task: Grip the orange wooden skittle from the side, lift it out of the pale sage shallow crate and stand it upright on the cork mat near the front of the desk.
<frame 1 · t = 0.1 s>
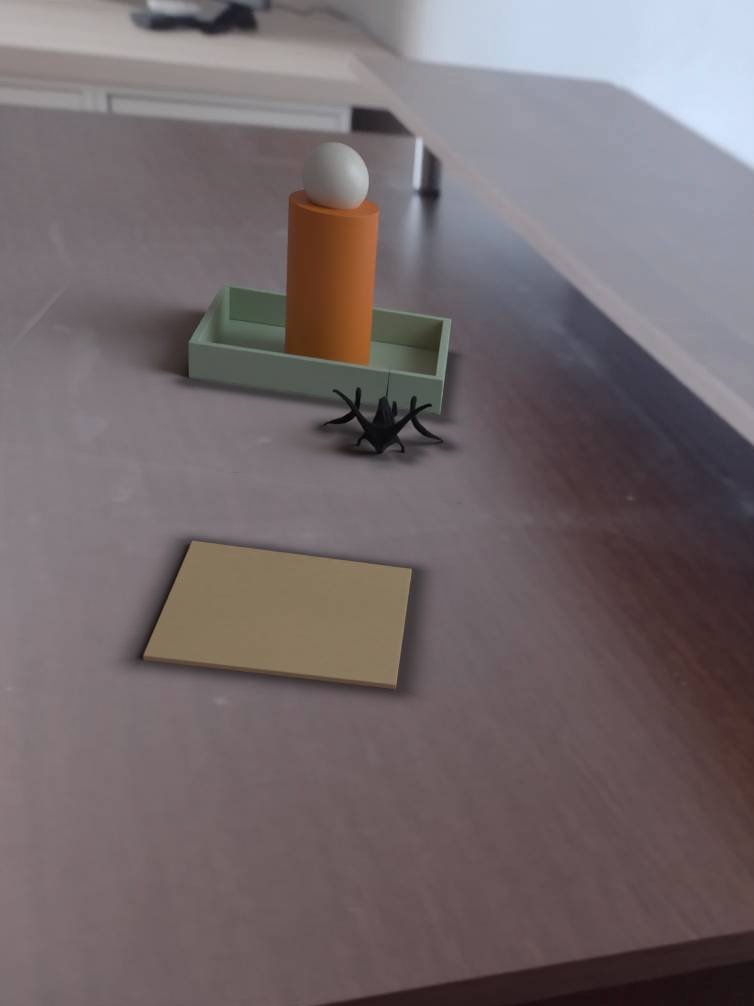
skittle: (326, 362, 96), point 1 cm above the worktop, touching crate
mat: (288, 615, 69), on the worktop
crate: (326, 370, 96), on the worktop
creature: (382, 449, 88), on the worktop
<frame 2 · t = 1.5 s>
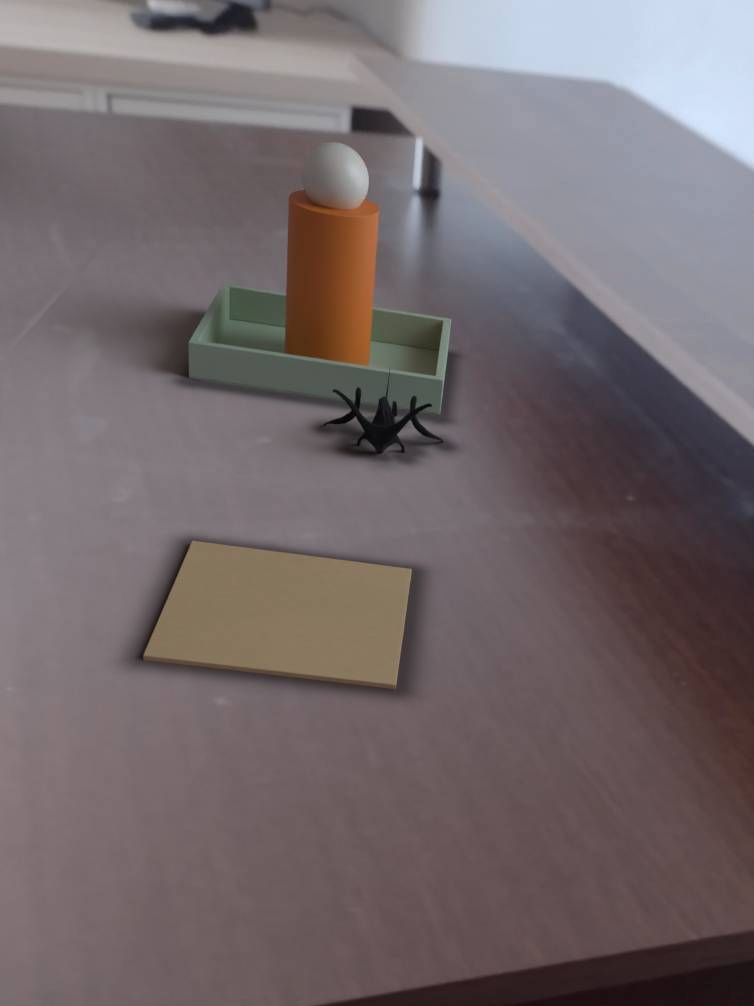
nothing on the worktop moved.
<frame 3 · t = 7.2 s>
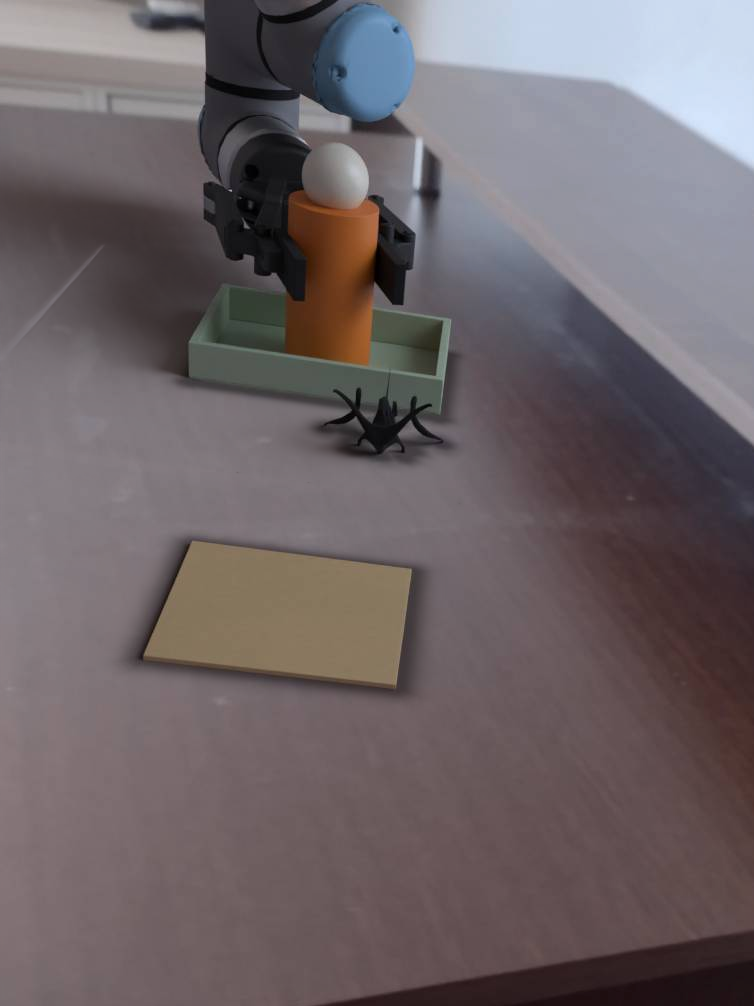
hand: (350, 282, 88), 8 cm above the worktop, tool horizontal, fingers closed on skittle, 6 cm apart
skittle: (326, 362, 96), point 1 cm above the worktop, touching crate, gripper
everything else where it was.
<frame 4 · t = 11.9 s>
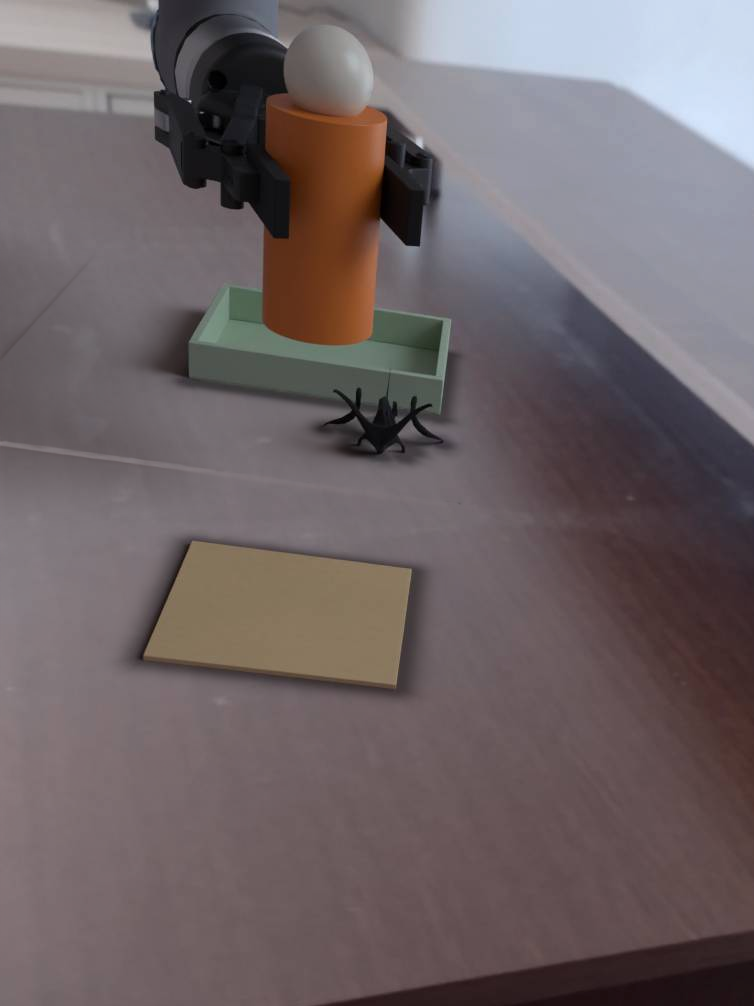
hand: (349, 214, 66), 18 cm above the worktop, tool horizontal, fingers closed on skittle, 6 cm apart
skittle: (317, 325, 73), point 10 cm above the worktop, touching gripper
everything else where it was.
when the fingers open (8 cm above the worktop, at t = 16.8 s): skittle stays where it is, resting on mat.
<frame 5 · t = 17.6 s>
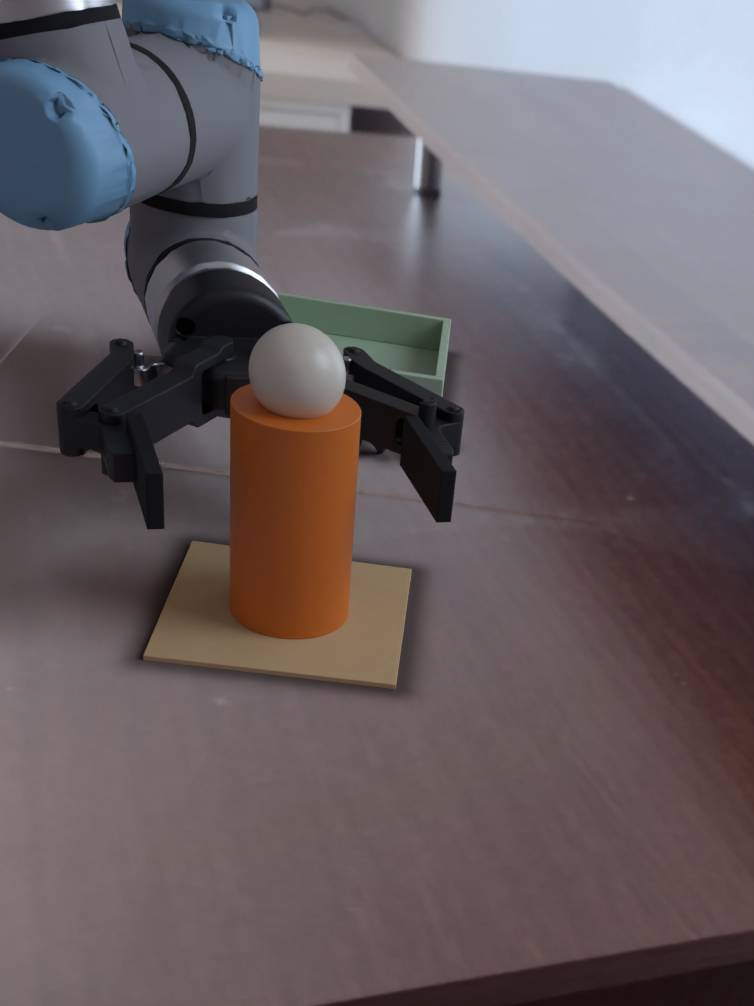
hand: (307, 499, 62), 8 cm above the worktop, tool horizontal, fingers open, 13 cm apart
skittle: (289, 609, 69), resting on mat
everything else where it was.
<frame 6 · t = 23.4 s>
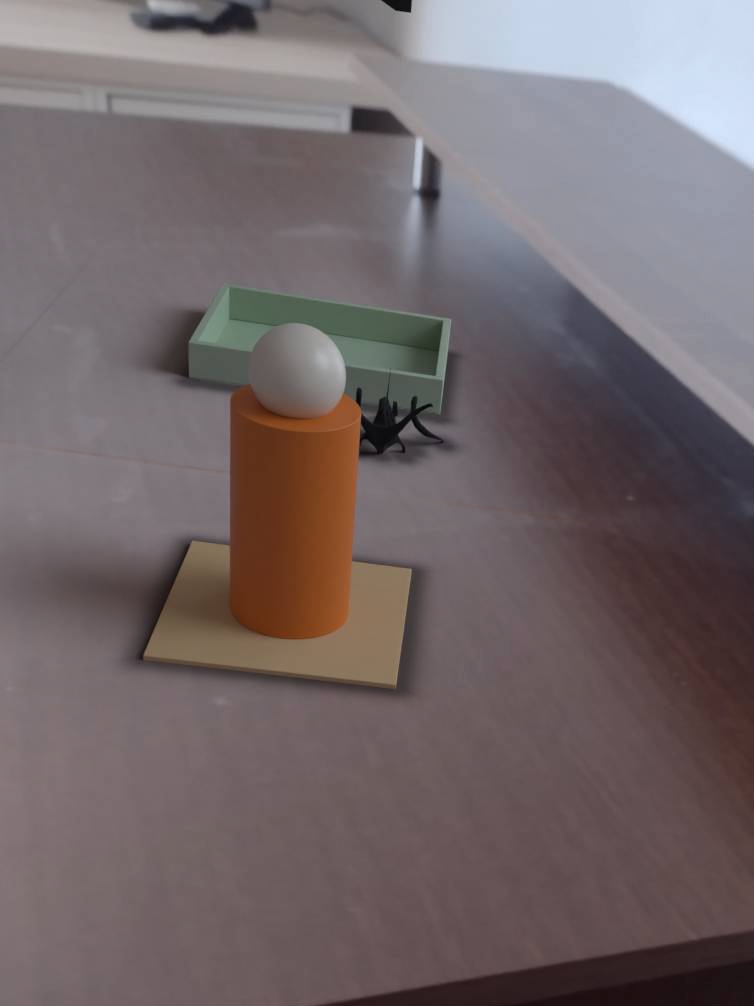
nothing on the worktop moved.
at the end: skittle inside the target area on the mat (0.1 cm from its centre), point 0.4 cm above the mat's base; skittle tilted 0°; the gripper is holding nothing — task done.
